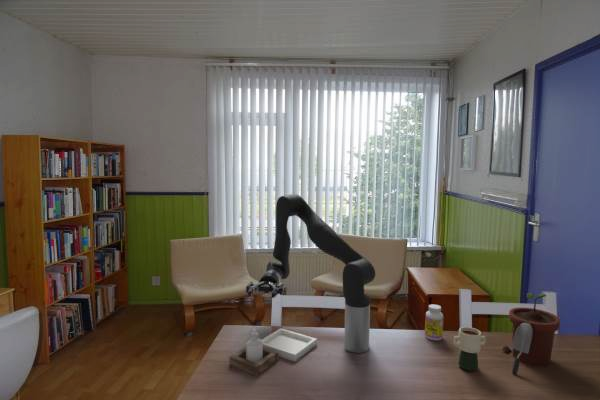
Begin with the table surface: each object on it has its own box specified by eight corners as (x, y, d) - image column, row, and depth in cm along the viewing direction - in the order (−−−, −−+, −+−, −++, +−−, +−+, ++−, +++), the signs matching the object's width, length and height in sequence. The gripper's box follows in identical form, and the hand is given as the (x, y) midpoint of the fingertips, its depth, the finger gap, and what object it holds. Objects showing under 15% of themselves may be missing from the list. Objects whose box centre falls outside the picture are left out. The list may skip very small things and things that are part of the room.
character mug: (479, 362, 140) (481, 326, 139) (488, 373, 133) (491, 335, 132) (448, 362, 140) (449, 326, 139) (456, 373, 133) (458, 335, 132)
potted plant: (572, 370, 135) (578, 299, 132) (513, 375, 132) (518, 302, 129) (534, 346, 152) (539, 282, 150) (482, 349, 149) (485, 285, 147)
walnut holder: (251, 351, 147) (251, 343, 147) (278, 360, 141) (278, 352, 140) (229, 365, 137) (229, 356, 137) (256, 375, 131) (256, 366, 130)
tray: (280, 334, 162) (280, 328, 161) (316, 344, 152) (316, 338, 152) (257, 348, 149) (257, 342, 149) (295, 361, 140) (295, 354, 140)
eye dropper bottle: (261, 366, 137) (261, 332, 135) (245, 365, 137) (244, 331, 136) (263, 359, 141) (263, 327, 140) (248, 359, 142) (247, 326, 140)
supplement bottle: (421, 337, 160) (422, 306, 158) (430, 332, 164) (431, 302, 163) (437, 342, 155) (438, 310, 154) (445, 337, 159) (446, 306, 158)
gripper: (253, 271, 164) (242, 283, 148) (287, 273, 162) (280, 286, 146) (253, 289, 165) (242, 303, 149) (287, 291, 163) (280, 305, 147)
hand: (261, 294), depth 148 cm, fingers open, 8 cm apart
